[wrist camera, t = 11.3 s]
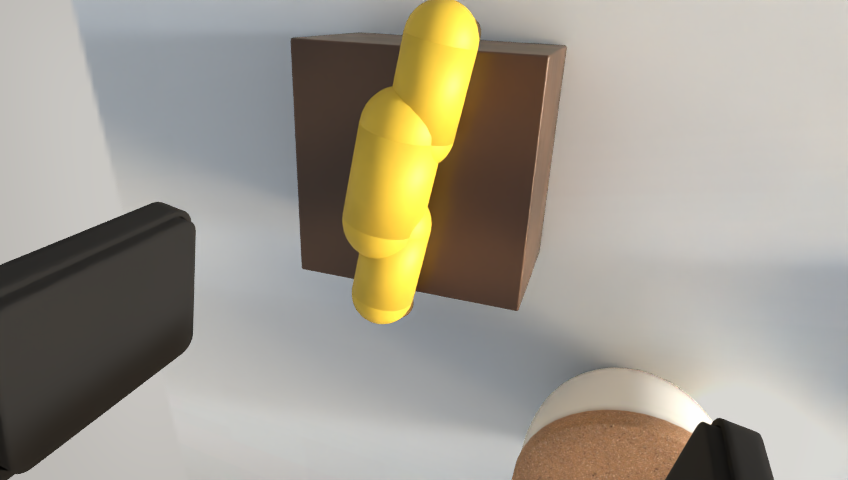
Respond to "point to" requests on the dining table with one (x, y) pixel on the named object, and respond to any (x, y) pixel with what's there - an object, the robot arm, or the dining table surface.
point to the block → (456, 174)
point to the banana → (406, 156)
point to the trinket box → (609, 428)
